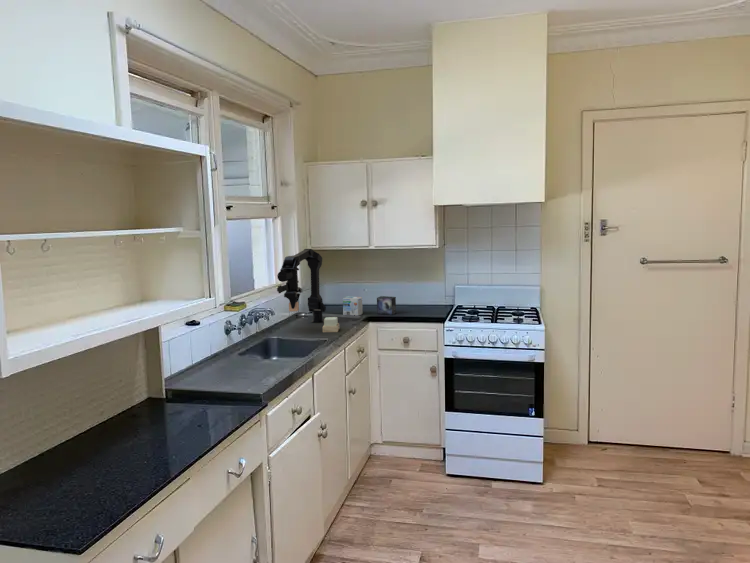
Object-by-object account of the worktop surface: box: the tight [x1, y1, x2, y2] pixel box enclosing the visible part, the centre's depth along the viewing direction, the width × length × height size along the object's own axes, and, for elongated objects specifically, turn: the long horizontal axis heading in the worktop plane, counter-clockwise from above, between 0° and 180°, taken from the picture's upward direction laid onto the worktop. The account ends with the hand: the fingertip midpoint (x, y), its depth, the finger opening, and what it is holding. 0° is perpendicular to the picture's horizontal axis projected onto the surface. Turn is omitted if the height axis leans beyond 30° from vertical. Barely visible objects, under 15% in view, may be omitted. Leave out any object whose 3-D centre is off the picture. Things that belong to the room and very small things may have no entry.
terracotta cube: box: [288, 301, 300, 312], centre depth 307 cm, size 4×4×4 cm
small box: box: [376, 295, 397, 316], centre depth 349 cm, size 11×6×10 cm, turn 62°
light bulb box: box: [342, 296, 364, 316], centre depth 350 cm, size 11×7×11 cm, turn 68°
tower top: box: [323, 316, 339, 326], centre depth 306 cm, size 6×6×4 cm
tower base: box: [322, 322, 340, 333], centre depth 306 cm, size 8×8×4 cm
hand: (293, 307), depth 307 cm, fingers closed on terracotta cube, 4 cm apart
